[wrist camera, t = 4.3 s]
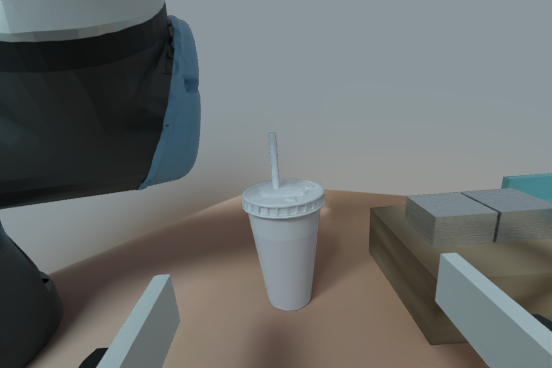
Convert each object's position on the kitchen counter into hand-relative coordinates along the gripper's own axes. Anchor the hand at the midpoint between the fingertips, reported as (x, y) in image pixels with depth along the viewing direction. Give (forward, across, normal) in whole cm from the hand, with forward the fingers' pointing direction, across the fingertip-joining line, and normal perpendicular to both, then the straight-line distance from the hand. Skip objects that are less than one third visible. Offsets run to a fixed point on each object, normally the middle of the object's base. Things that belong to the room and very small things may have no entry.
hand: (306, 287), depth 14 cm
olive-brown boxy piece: (+9, +15, -8) cm, 19 cm away
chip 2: (+9, +17, -2) cm, 19 cm away
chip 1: (+9, +12, -2) cm, 15 cm away
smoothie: (+9, -1, -8) cm, 12 cm away
